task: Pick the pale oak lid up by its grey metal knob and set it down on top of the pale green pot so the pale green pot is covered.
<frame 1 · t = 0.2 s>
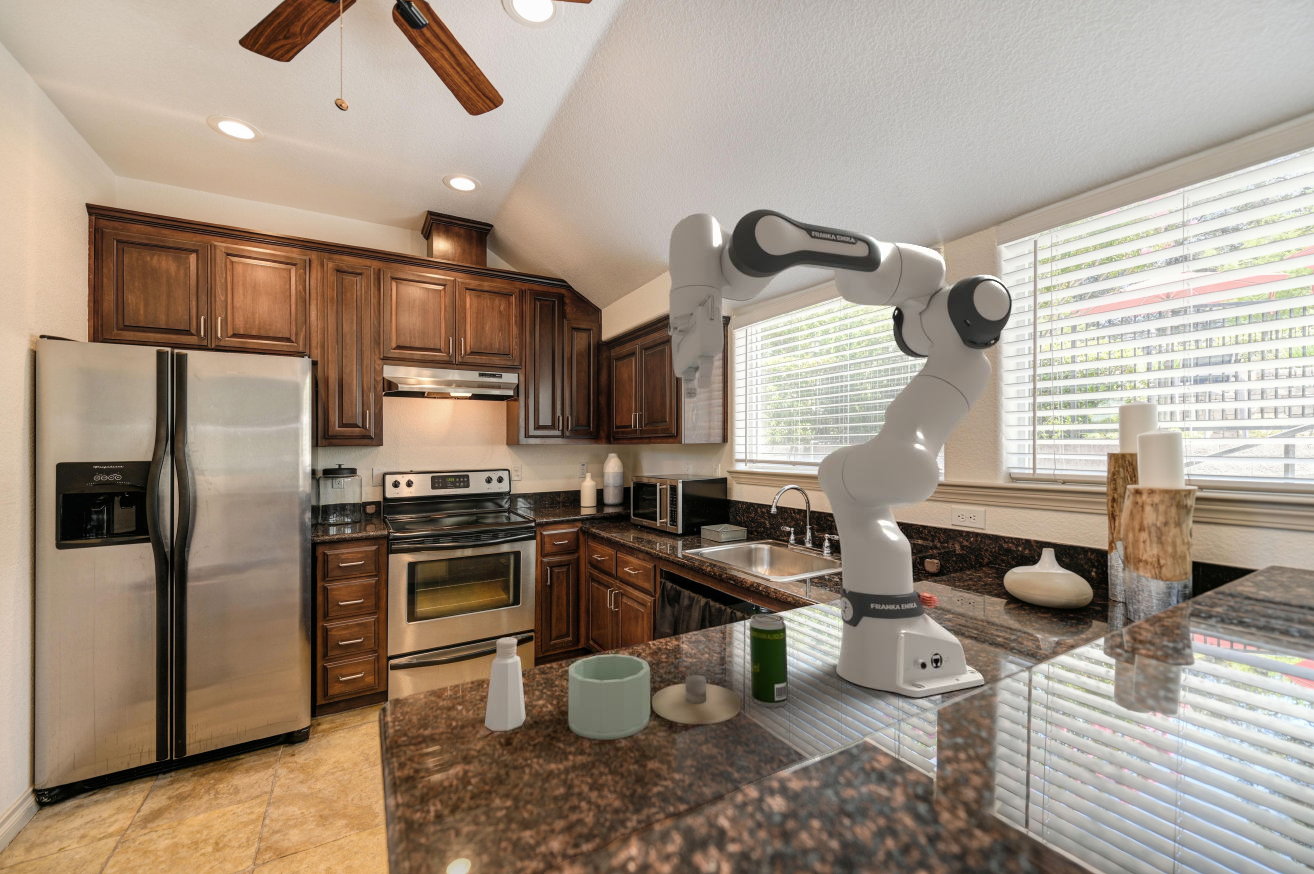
hand: (697, 393, 86), 47 cm above the countertop, fingers open, 8 cm apart
beer can: (769, 702, 77), on the countertop
pepper shaker: (505, 724, 71), on the countertop
pale green pot: (609, 720, 71), on the countertop
lid: (696, 706, 77), on the countertop
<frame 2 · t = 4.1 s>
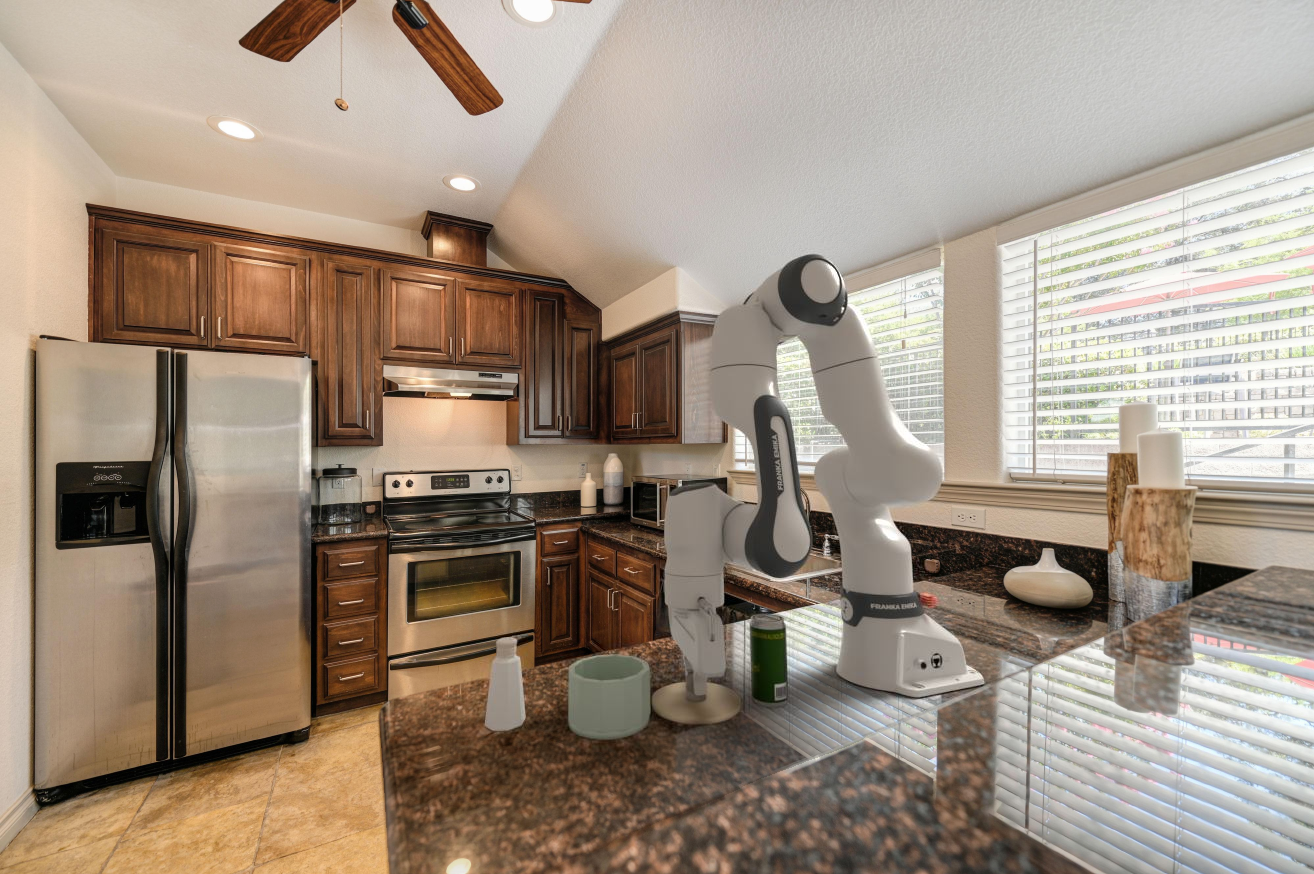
hand: (695, 687, 77), 2 cm above the countertop, fingers closed on lid, 3 cm apart
lid: (696, 705, 77), on the countertop, touching gripper
everything else where it was.
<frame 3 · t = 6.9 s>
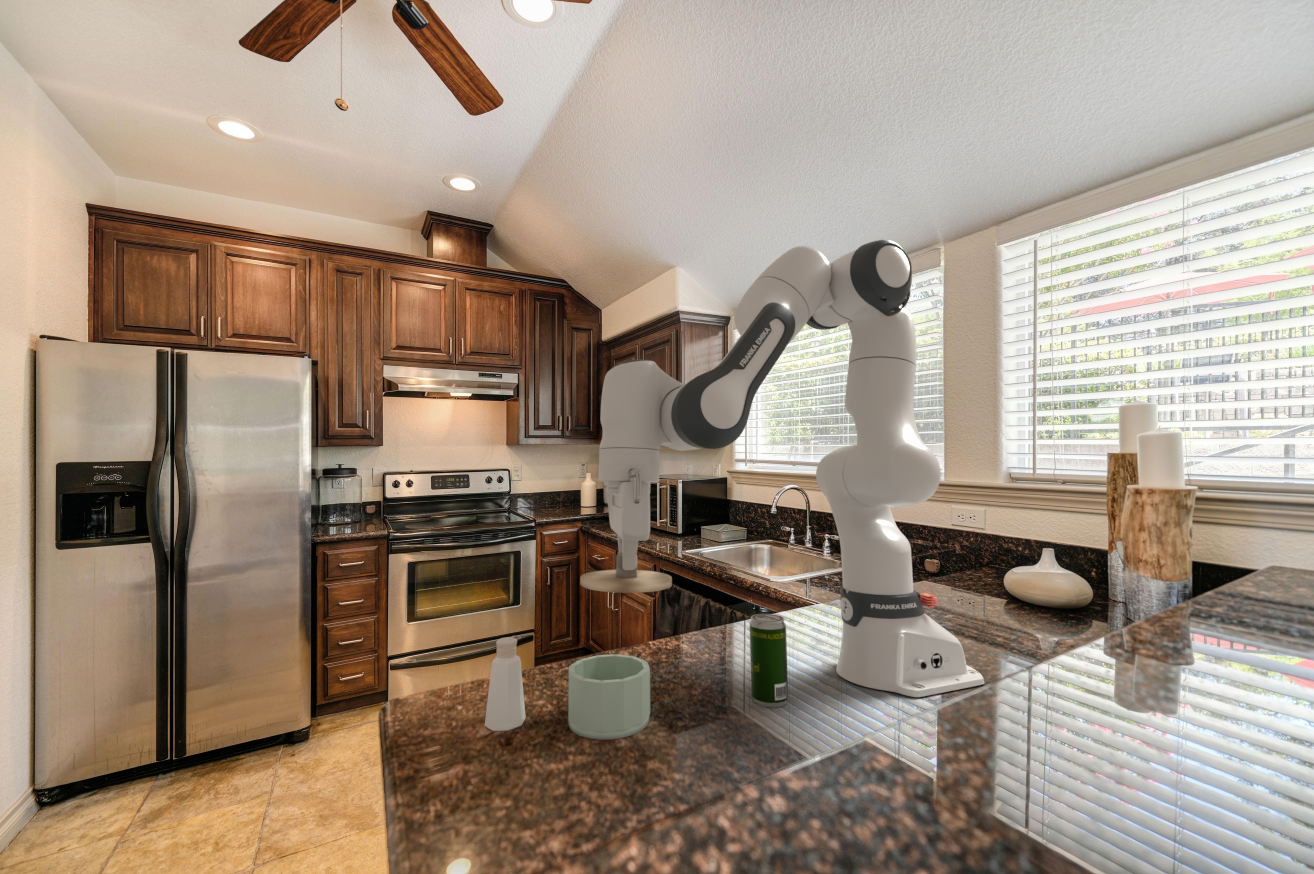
hand: (626, 567, 74), 20 cm above the countertop, fingers closed on lid, 3 cm apart
lid: (626, 583, 74), point 18 cm above the countertop, touching gripper
everything else where it was.
when the fingers open (11 cm above the countertop, at t = 9.3 s): lid drops 2 cm, resting on pale green pot.
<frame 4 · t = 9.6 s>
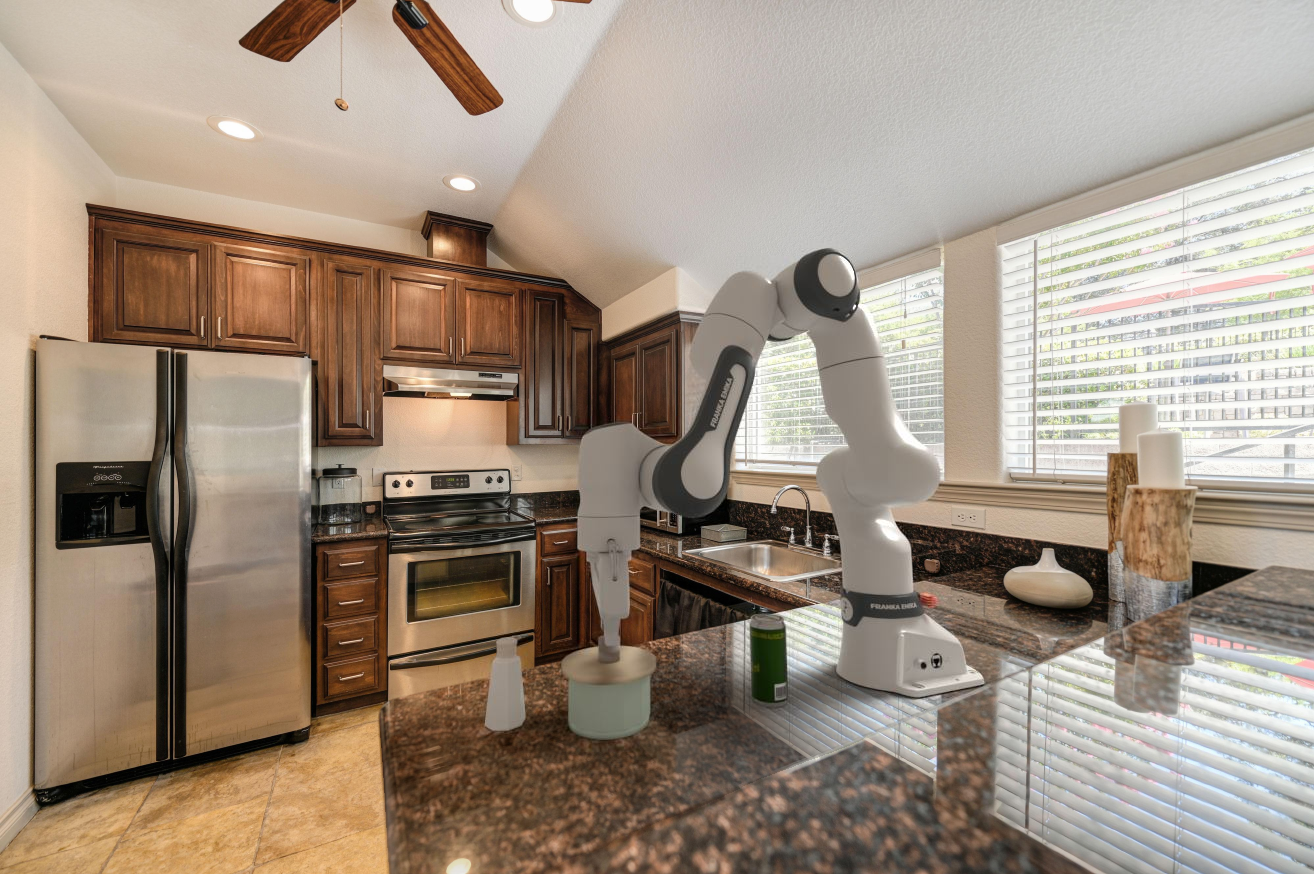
hand: (609, 636, 73), 11 cm above the countertop, fingers open, 5 cm apart
lid: (609, 667, 72), point 7 cm above the countertop, touching pale green pot
everything else where it was.
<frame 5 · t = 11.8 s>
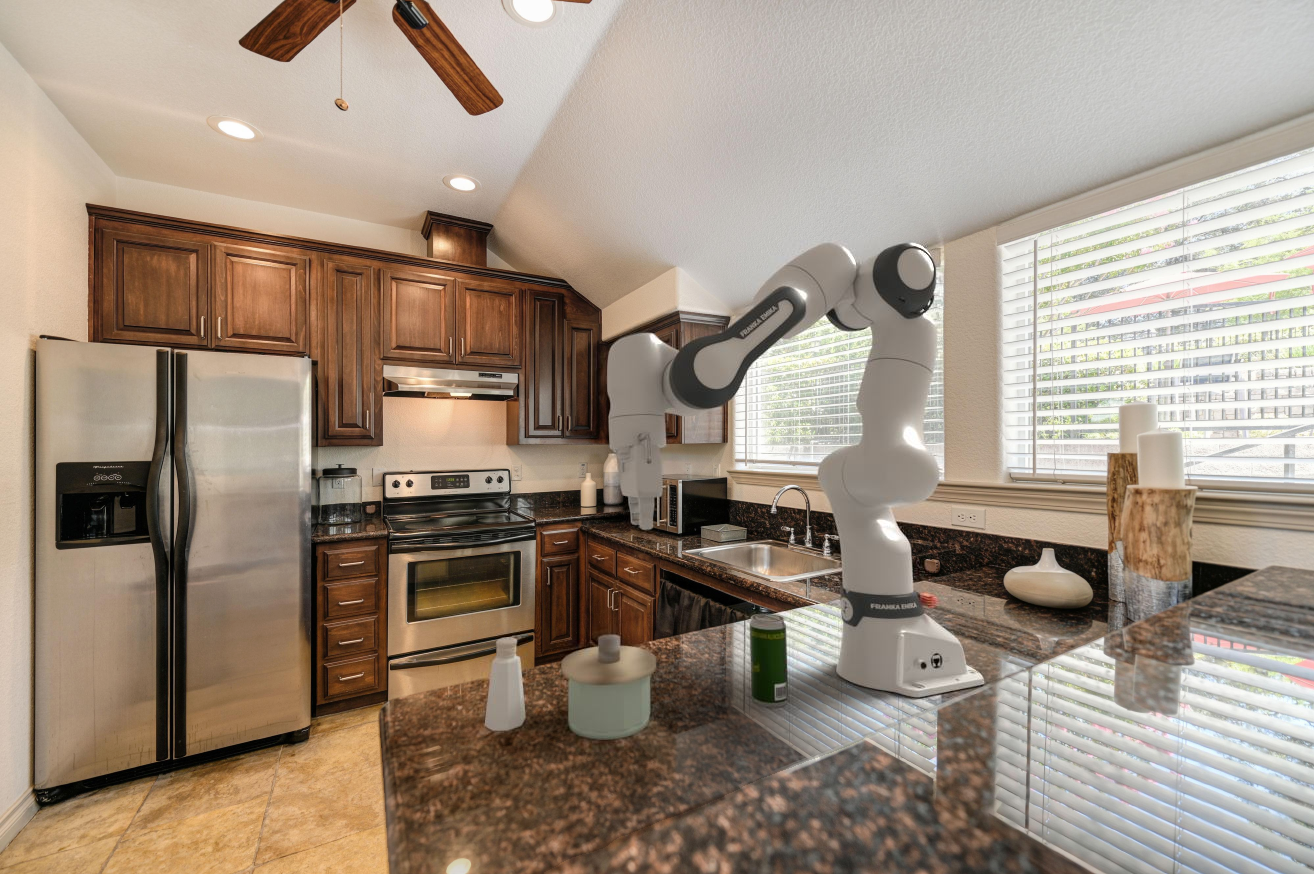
hand: (641, 526, 80), 26 cm above the countertop, fingers open, 8 cm apart
nothing on the countertop moved.
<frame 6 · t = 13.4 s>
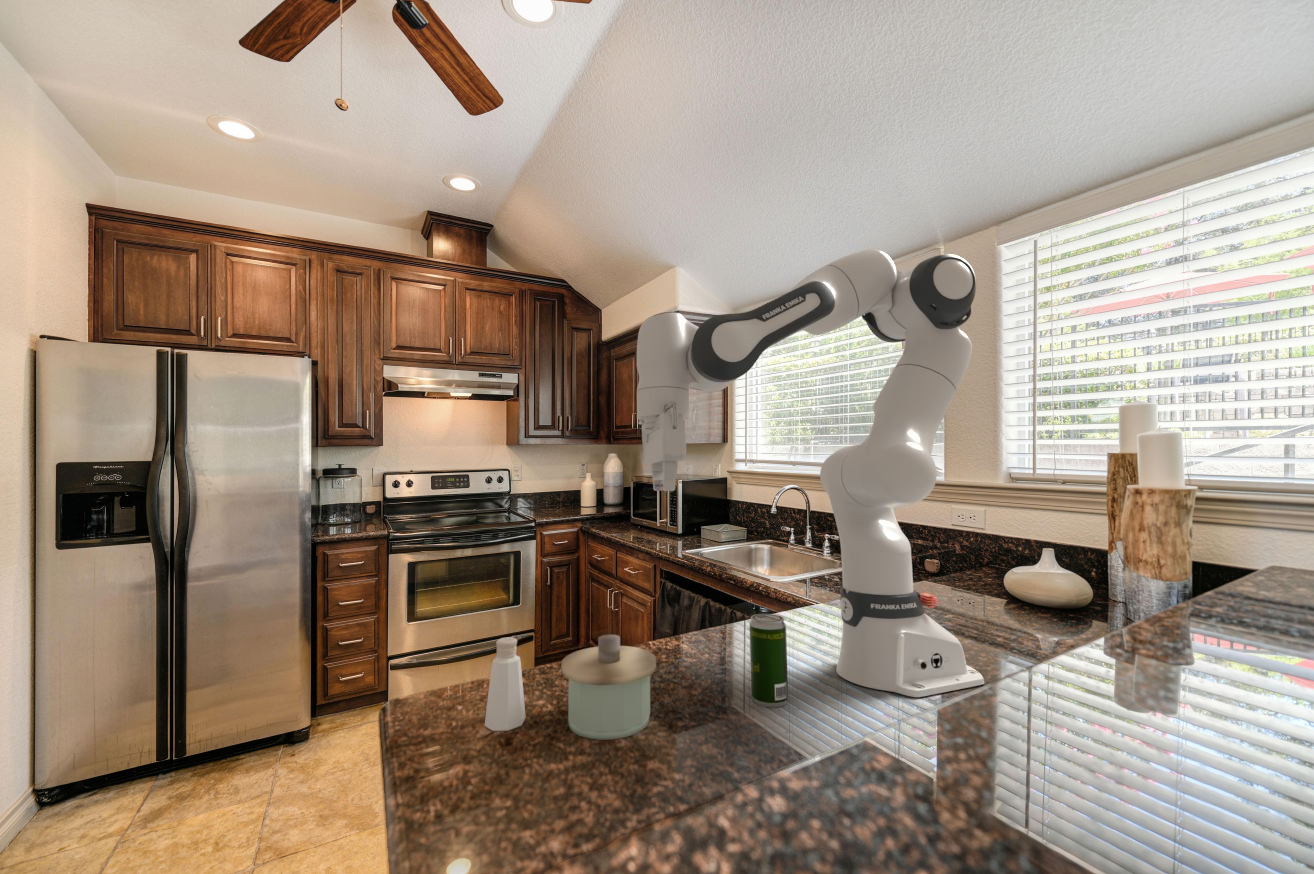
hand: (663, 490, 87), 31 cm above the countertop, fingers open, 8 cm apart
nothing on the countertop moved.
at the end: lid 0.0 cm off-centre on the pale green pot, point 7.0 cm above the pale green pot's base; lid tilted 0°; the gripper is holding nothing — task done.
